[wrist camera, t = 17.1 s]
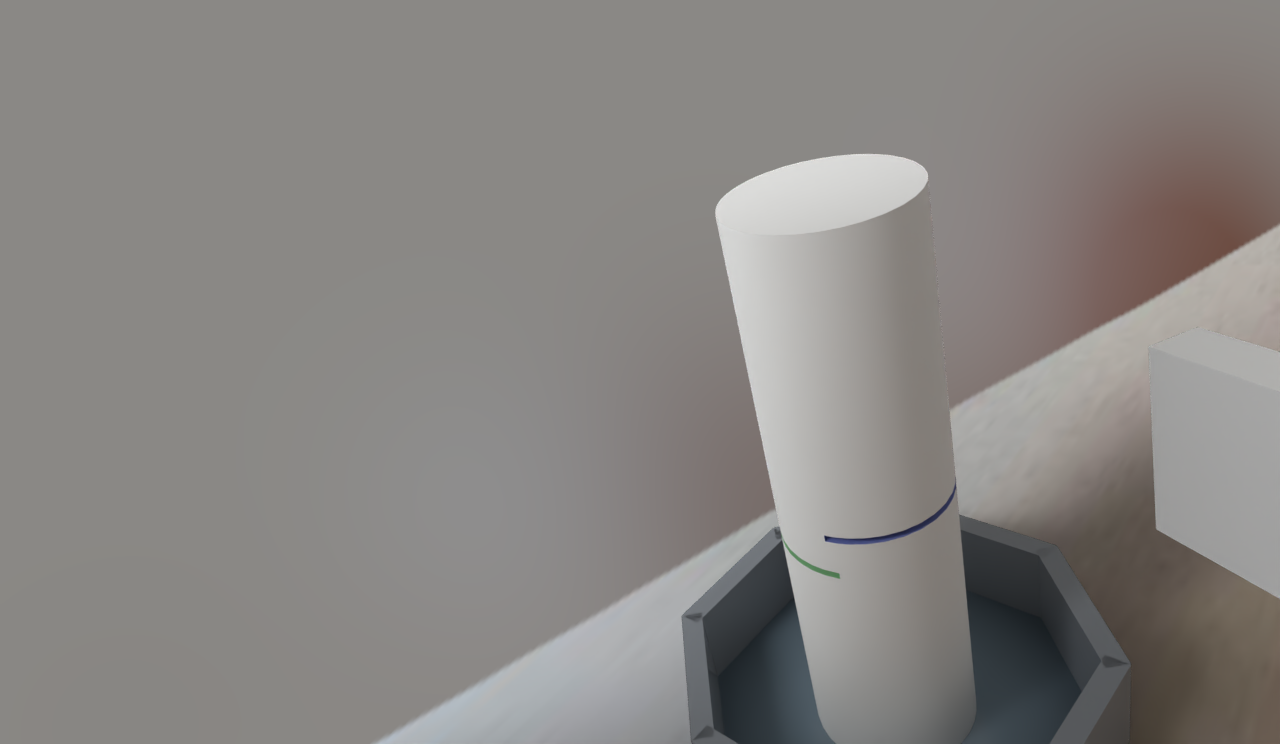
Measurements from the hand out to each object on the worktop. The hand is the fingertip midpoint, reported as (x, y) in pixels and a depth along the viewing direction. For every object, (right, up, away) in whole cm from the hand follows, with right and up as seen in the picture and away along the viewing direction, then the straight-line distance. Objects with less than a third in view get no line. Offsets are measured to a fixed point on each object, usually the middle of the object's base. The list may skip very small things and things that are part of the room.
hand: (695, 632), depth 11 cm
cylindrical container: (+11, -12, +33) cm, 37 cm away
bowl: (+11, -13, +34) cm, 38 cm away
